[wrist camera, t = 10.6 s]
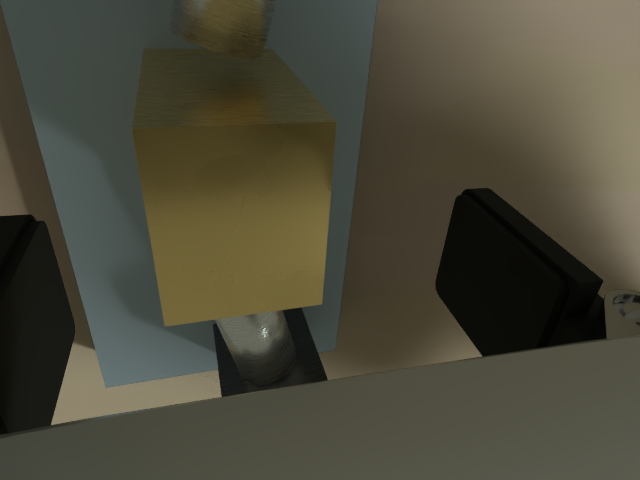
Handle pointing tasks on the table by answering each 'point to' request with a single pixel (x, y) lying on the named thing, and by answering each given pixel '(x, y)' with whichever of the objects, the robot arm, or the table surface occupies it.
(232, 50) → the shaft
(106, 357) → the board
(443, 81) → the table surface
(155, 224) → the olive yellow block
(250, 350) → the shaft
